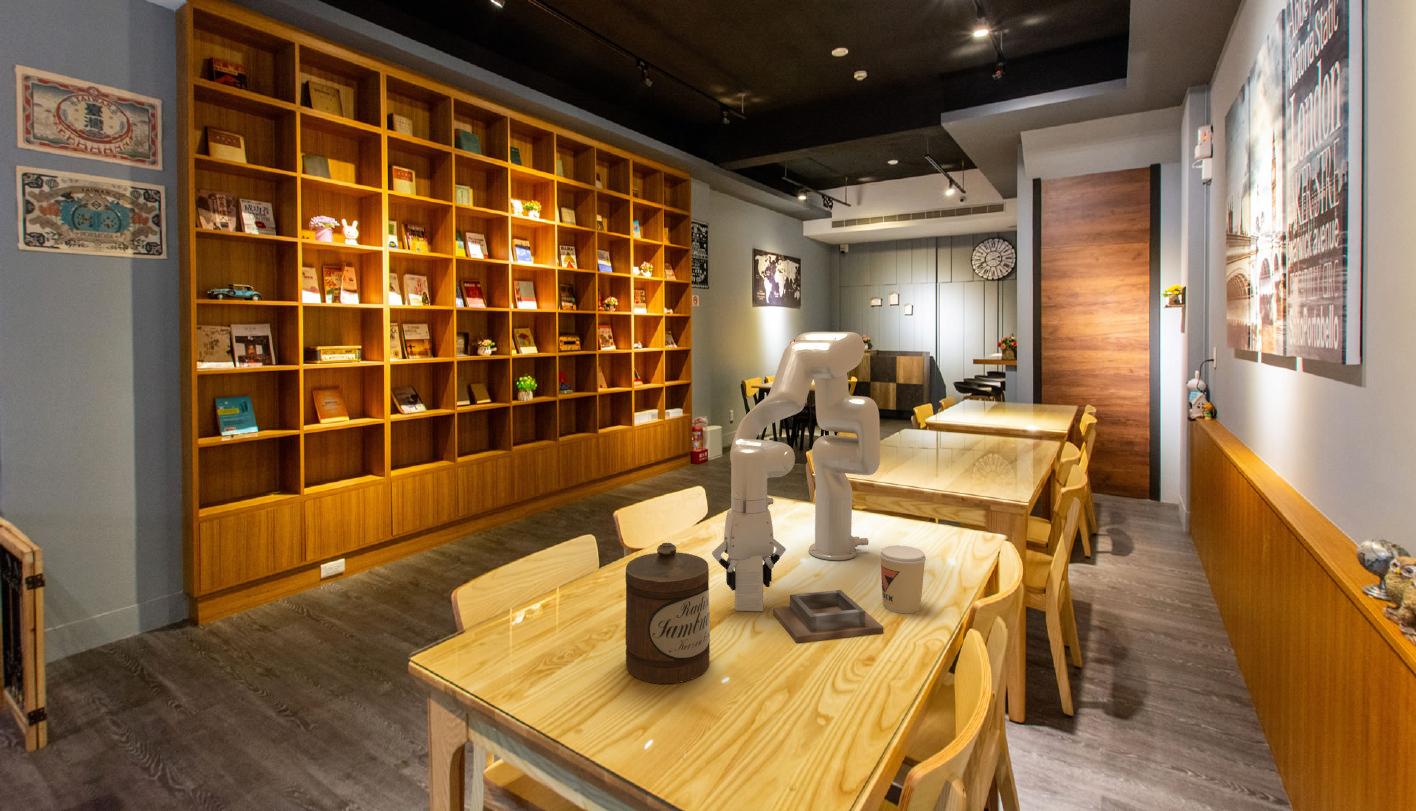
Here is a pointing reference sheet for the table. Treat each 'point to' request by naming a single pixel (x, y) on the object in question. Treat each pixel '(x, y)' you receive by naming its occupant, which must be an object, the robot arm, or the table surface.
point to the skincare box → (749, 584)
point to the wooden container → (667, 616)
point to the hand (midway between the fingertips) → (749, 585)
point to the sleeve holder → (825, 617)
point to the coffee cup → (902, 578)
